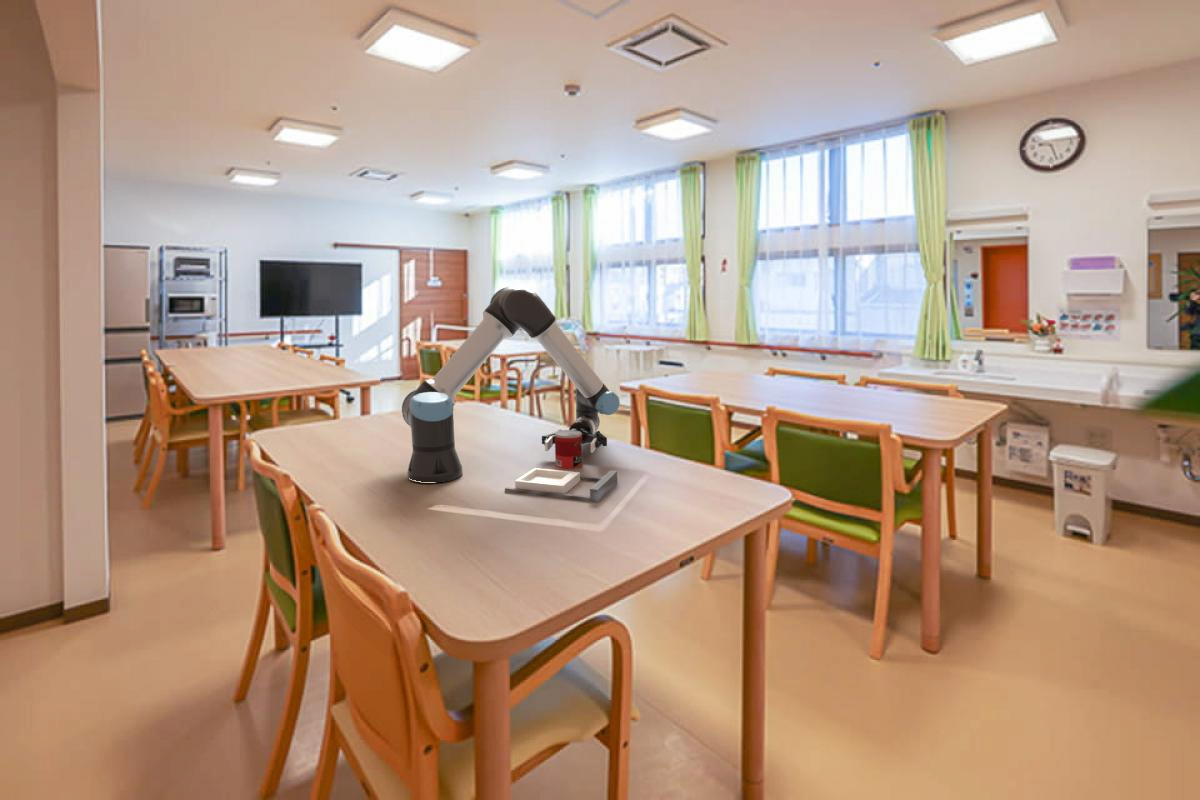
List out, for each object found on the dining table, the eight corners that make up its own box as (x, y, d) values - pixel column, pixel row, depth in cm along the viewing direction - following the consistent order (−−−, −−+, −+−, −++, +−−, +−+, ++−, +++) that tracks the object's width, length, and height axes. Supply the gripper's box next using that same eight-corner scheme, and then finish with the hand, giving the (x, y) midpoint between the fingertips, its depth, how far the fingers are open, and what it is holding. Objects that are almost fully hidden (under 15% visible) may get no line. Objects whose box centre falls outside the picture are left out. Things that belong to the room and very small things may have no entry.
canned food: (579, 473, 176) (578, 436, 174) (552, 472, 178) (551, 435, 176) (584, 465, 184) (584, 430, 181) (559, 464, 185) (558, 429, 183)
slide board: (505, 495, 158) (504, 479, 157) (531, 477, 173) (531, 462, 172) (603, 507, 149) (603, 490, 148) (622, 486, 164) (622, 471, 163)
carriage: (515, 490, 159) (514, 480, 158) (534, 476, 170) (534, 467, 169) (563, 495, 154) (563, 486, 154) (580, 481, 166) (579, 472, 165)
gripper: (619, 442, 198) (611, 461, 177) (545, 440, 201) (528, 458, 181) (619, 420, 196) (611, 436, 176) (544, 418, 200) (527, 433, 179)
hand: (568, 447), depth 178 cm, fingers open, 13 cm apart
